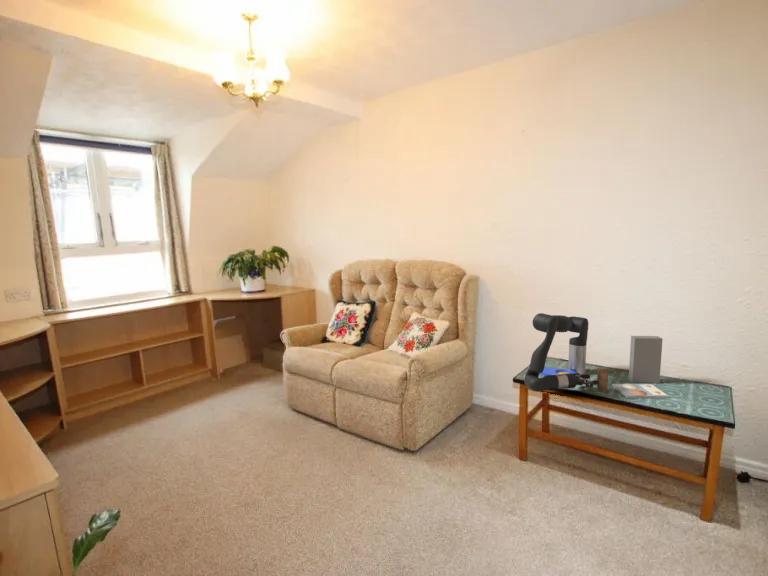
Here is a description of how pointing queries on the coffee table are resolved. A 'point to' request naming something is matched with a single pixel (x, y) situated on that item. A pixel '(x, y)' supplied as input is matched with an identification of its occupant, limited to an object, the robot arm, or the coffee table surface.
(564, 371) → the location marker
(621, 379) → the coffee table surface
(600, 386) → the brown upright cylinder
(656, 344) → the tall grey upright box
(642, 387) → the board
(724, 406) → the coffee table surface
